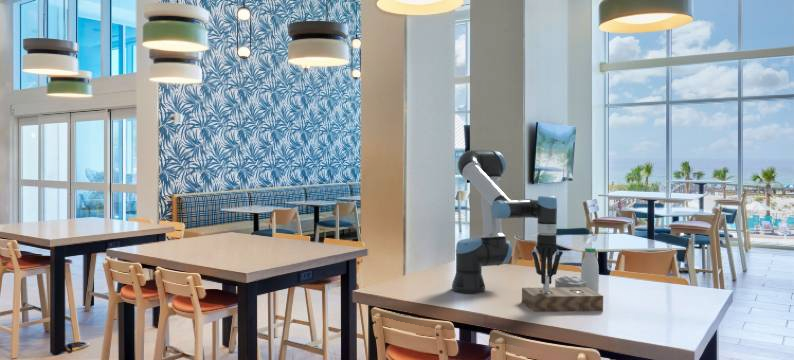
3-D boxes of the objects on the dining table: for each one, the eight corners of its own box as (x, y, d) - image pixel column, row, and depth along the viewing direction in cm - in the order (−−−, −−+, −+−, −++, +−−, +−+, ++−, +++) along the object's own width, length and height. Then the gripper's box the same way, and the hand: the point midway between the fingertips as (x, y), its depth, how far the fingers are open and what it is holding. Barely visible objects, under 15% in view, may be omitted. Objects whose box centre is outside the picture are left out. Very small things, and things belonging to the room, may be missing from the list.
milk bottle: (599, 294, 257) (600, 249, 256) (581, 293, 258) (582, 248, 258) (597, 290, 264) (598, 247, 264) (579, 289, 266) (580, 246, 265)
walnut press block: (533, 311, 225) (534, 296, 225) (521, 301, 241) (522, 287, 240) (602, 311, 227) (603, 295, 227) (586, 301, 243) (586, 287, 243)
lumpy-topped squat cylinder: (576, 301, 243) (577, 281, 242) (549, 296, 252) (550, 276, 252) (588, 297, 250) (589, 278, 249) (562, 292, 259) (562, 273, 259)
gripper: (534, 235, 228) (533, 294, 229) (565, 235, 229) (565, 293, 230) (528, 233, 236) (527, 290, 236) (559, 232, 237) (558, 289, 237)
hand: (546, 291), depth 233 cm, fingers closed
